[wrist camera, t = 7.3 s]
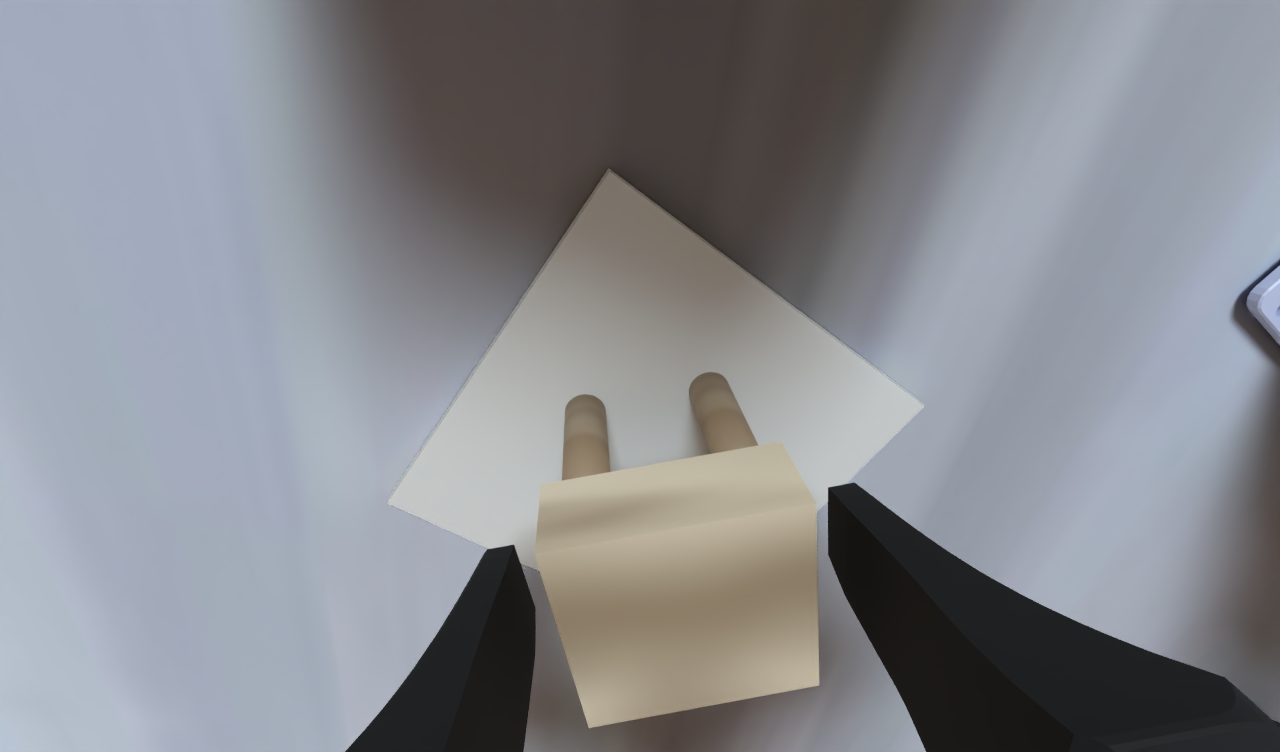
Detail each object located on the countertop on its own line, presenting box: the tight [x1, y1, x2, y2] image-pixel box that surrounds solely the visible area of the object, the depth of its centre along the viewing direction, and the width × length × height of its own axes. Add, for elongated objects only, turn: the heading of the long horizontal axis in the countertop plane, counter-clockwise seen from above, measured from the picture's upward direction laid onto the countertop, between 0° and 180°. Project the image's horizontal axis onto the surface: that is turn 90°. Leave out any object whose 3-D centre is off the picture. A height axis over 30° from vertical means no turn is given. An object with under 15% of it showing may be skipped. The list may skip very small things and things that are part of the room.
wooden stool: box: [534, 372, 819, 728], centre depth 14 cm, size 5×5×6 cm
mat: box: [387, 168, 924, 572], centre depth 17 cm, size 11×11×1 cm
